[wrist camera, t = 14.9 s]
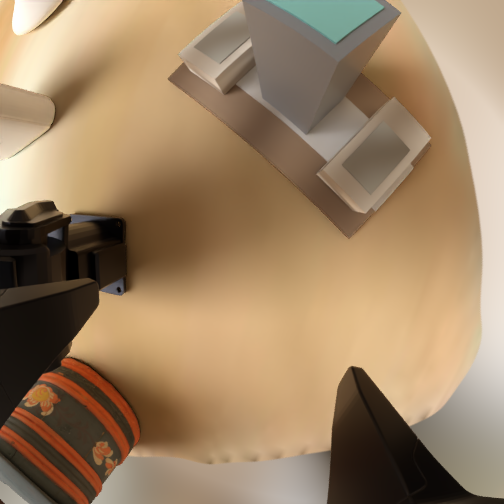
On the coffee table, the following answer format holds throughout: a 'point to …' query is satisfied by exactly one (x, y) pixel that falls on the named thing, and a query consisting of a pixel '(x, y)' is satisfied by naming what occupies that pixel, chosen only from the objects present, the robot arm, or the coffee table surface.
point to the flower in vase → (31, 14)
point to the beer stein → (66, 437)
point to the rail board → (318, 139)
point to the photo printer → (22, 118)
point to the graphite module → (313, 51)
